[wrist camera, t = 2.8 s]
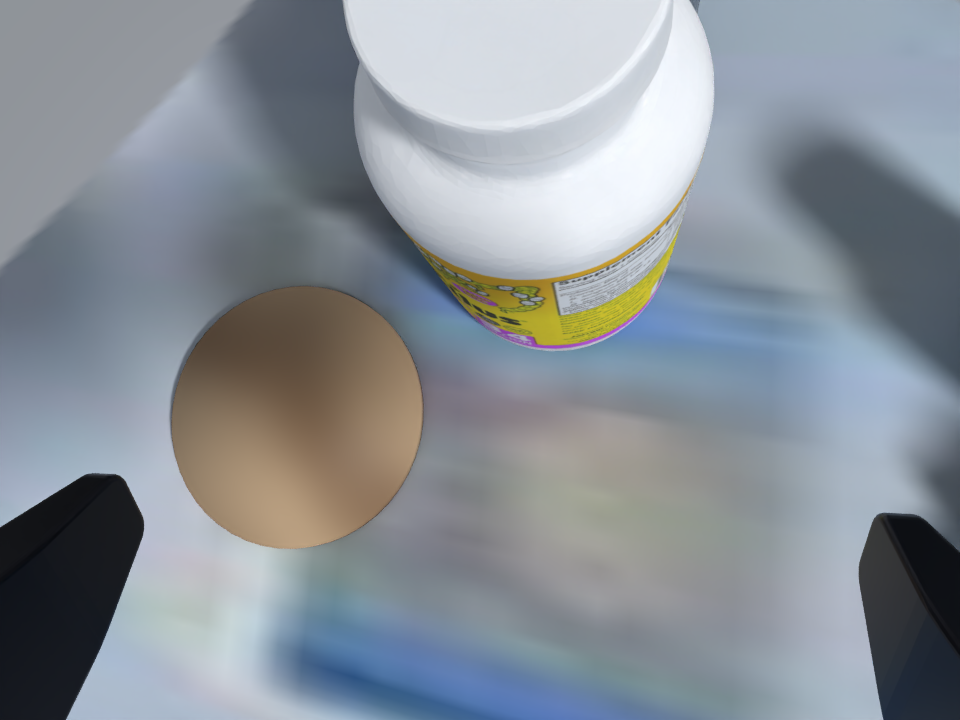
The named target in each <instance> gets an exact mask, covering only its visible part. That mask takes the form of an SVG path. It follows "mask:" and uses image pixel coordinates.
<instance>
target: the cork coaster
mask: <svg viewBox="0 0 960 720" xmlns="http://www.w3.org/2000/svg"><path fill="white" fill-rule="evenodd" d="M423 408H424V405H423V395H422V387H421V383H420V379H419V375H418V371H417V368H416V366H415V363H414V361H413V358H412V356H411V354H410V352H409V350H408V348H407V347H406V345H405V343H404V341H403V340H402V339H401V337H400V336H399V335H398V333H397V332H396V331H395V329H394V328H393V327H392V326H391V325H390V324H389V323H388V322H387V321H386V320H385V319H384V318H383V317H382V316H381V315H379V314H378V313H377V312H375V311H374V310H373V309H372V308H370V307H369V306H368V305H366V304H364V303H362V302H361V301H359V300H357V299H355V298H354V297H351V296H349V295H346V294H344V293H341V292H339V291H334V290H330V289H326V288H321V287H311V286H298V287H287V288H281V289H275V290H272V291H269V292H265V293H262V294H259V295H257V296H255V297H253V298H250V299H248V300H246V301H244V302H243V303H241V304H239V305H238V306H236V307H234V308H233V309H231V310H230V311H229V312H227V313H226V314H225V315H224V316H222V317H221V318H220V319H219V320H218V321H217V322H216V323H215V324H214V325H213V326H212V327H211V328H210V329H209V330H208V331H207V332H206V333H205V334H204V336H203V337H202V338H201V340H200V341H199V342H198V343H197V345H196V346H195V348H194V350H193V351H192V353H191V355H190V356H189V358H188V360H187V362H186V364H185V366H184V369H183V371H182V373H181V376H180V379H179V382H178V385H177V388H176V392H175V397H174V402H173V410H172V441H173V447H174V452H175V457H176V461H177V464H178V467H179V470H180V473H181V475H182V477H183V480H184V482H185V484H186V486H187V488H188V490H189V491H190V493H191V494H192V496H193V498H194V499H195V501H196V502H197V503H198V504H199V506H200V507H201V508H202V509H203V510H204V512H205V513H206V514H207V515H208V516H209V517H211V518H212V519H213V520H214V521H215V522H216V523H217V524H218V525H220V526H221V527H223V528H224V529H226V530H227V531H229V532H230V533H232V534H234V535H236V536H238V537H240V538H242V539H244V540H246V541H249V542H252V543H255V544H259V545H262V546H267V547H273V548H286V549H297V548H305V547H313V546H317V545H321V544H325V543H329V542H332V541H335V540H337V539H339V538H342V537H344V536H347V535H349V534H350V533H352V532H354V531H356V530H357V529H359V528H361V527H362V526H364V525H365V524H366V523H368V522H369V521H370V520H372V519H373V518H374V517H375V516H377V515H378V514H379V513H380V512H381V511H382V510H383V509H384V508H385V507H386V506H387V505H388V504H389V503H390V501H391V500H392V499H393V497H394V496H395V495H396V493H397V492H398V491H399V489H400V488H401V486H402V484H403V483H404V481H405V479H406V478H407V476H408V474H409V472H410V470H411V467H412V465H413V463H414V460H415V458H416V455H417V451H418V448H419V444H420V440H421V434H422V427H423Z"/></svg>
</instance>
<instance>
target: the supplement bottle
mask: <svg viewBox="0 0 960 720" xmlns="http://www.w3.org/2000/svg"><path fill="white" fill-rule="evenodd" d="M343 9H344V16H345V21H346V27H347V31H348V34H349V37H350V40H351V44H352V46H353V48H354V51H355V53H356V55H357V58H358V60H359V61H360V63H359V67H358V72H357V76H356V81H355V91H354V125H355V134H356V139H357V143H358V147H359V152H360V155H361V158H362V162H363V165H364V168H365V170H366V172H367V174H368V177H369V179H370V181H371V183H372V186H373V187H374V189H375V191H376V193H377V195H378V196H379V198H380V199H381V201H382V202H383V204H384V206H385V207H386V208H387V210H388V211H389V213H390V214H391V216H392V217H393V218H394V219H395V221H396V222H397V223H398V224H399V226H400V227H401V228H402V229H403V231H404V232H405V233H406V234H407V235H408V237H409V238H410V239H411V240H412V242H413V243H414V244H415V245H416V247H417V248H418V249H419V251H420V252H421V253H422V255H423V256H424V257H425V258H426V260H427V261H428V262H429V264H430V265H431V266H432V267H433V269H434V270H435V272H436V273H437V274H438V275H439V277H440V278H441V279H442V280H443V282H444V283H445V285H446V286H447V287H448V288H449V289H450V291H451V292H452V293H453V294H454V296H455V297H456V298H457V299H458V301H459V302H460V303H461V304H462V305H463V307H464V308H465V309H466V310H467V311H468V312H469V313H470V314H471V315H472V316H473V317H474V318H475V319H476V320H477V321H478V322H479V323H480V324H481V325H482V326H484V327H485V328H486V329H488V330H489V331H491V332H492V333H494V334H495V335H497V336H499V337H500V338H502V339H504V340H506V341H509V342H511V343H513V344H516V345H519V346H522V347H527V348H531V349H536V350H545V351H566V350H573V349H578V348H583V347H586V346H590V345H592V344H595V343H598V342H600V341H603V340H605V339H607V338H609V337H611V336H612V335H614V334H616V333H617V332H619V331H620V330H621V329H623V328H624V327H626V326H627V325H628V324H629V323H631V322H632V321H633V320H634V319H635V318H636V317H637V316H638V315H639V314H640V313H641V312H642V311H643V310H644V309H645V307H646V306H647V305H648V304H649V302H650V301H651V299H652V298H653V296H654V295H655V293H656V291H657V289H658V288H659V286H660V284H661V282H662V279H663V277H664V275H665V273H666V270H667V267H668V264H669V261H670V258H671V254H672V251H673V248H674V244H675V241H676V238H677V235H678V231H679V228H680V225H681V222H682V219H683V216H684V212H685V209H686V206H687V203H688V199H689V196H690V193H691V190H692V187H693V183H694V180H695V177H696V175H697V171H698V168H699V165H700V162H701V160H702V156H703V153H704V150H705V146H706V141H707V138H708V135H709V130H710V125H711V120H712V114H713V106H714V70H713V63H712V57H711V52H710V48H709V44H708V41H707V38H706V35H705V31H704V29H703V26H702V24H701V22H700V20H699V17H698V15H697V13H696V11H695V9H694V7H693V6H692V4H691V2H690V0H343Z"/></svg>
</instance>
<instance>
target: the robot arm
mask: <svg viewBox="0 0 960 720" xmlns="http://www.w3.org/2000/svg"><path fill="white" fill-rule="evenodd" d="M143 532H144V520H143V516H142V514H141V512H140V510H139V508H138V506H137V504H136V502H135V500H134V498H133V496H132V494H131V492H130V490H129V488H128V486H127V483H126V482H125V480H124V479H123V478H122V477H120V476H119V475H116V474H100V473H91V474H87V475H84V476H82V477H80V478H79V479H77V480H76V481H74V482H72V483H71V484H69V485H67V486H66V487H64V488H63V489H61V490H59V491H58V492H56V493H55V494H53V495H51V496H50V497H48V498H47V499H45V500H43V501H42V502H40V503H39V504H37V505H35V506H34V507H32V508H31V509H29V510H27V511H26V512H24V513H23V514H21V515H19V516H18V517H16V518H14V519H13V520H11V521H10V522H8V523H6V524H5V525H3V526H2V527H0V720H66V719H67V717H68V715H69V712H70V710H71V708H72V706H73V704H74V702H75V700H76V698H77V696H78V694H79V692H80V690H81V688H82V686H83V684H84V682H85V680H86V678H87V676H88V674H89V672H90V669H91V667H92V665H93V663H94V661H95V659H96V657H97V655H98V652H99V650H100V648H101V646H102V643H103V641H104V638H105V636H106V633H107V631H108V629H109V626H110V623H111V621H112V618H113V615H114V613H115V610H116V607H117V604H118V602H119V599H120V596H121V594H122V591H123V588H124V586H125V583H126V580H127V578H128V575H129V572H130V569H131V567H132V564H133V561H134V559H135V556H136V553H137V551H138V548H139V545H140V542H141V540H142V537H143ZM859 584H860V590H861V596H862V601H863V607H864V613H865V619H866V625H867V631H868V637H869V642H870V648H871V654H872V660H873V666H874V672H875V677H876V683H877V689H878V695H879V700H880V705H881V710H882V715H883V720H960V552H959V551H958V550H957V549H956V548H955V547H954V546H953V545H952V544H951V543H949V542H948V541H947V540H946V539H945V538H944V537H943V536H942V535H941V534H940V533H939V532H938V531H937V530H935V529H934V528H933V527H932V526H931V525H930V524H929V523H928V522H927V521H926V520H924V519H923V518H921V517H920V516H917V515H914V514H898V513H880V514H878V515H877V516H876V517H875V518H874V520H873V522H872V525H871V528H870V531H869V534H868V537H867V541H866V544H865V547H864V550H863V553H862V556H861V559H860V563H859Z"/></svg>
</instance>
